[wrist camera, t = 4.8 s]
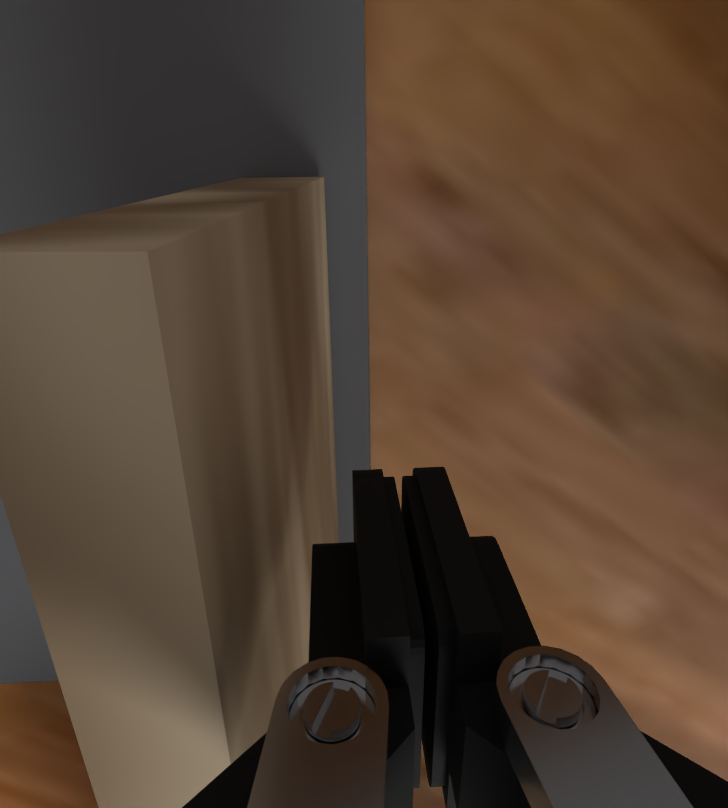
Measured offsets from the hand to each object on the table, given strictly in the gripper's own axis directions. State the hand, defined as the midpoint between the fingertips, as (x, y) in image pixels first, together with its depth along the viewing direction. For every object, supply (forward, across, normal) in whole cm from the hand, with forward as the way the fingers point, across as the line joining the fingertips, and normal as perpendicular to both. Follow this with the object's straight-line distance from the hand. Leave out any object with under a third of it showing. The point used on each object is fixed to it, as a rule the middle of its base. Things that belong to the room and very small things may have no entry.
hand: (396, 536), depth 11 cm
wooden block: (+6, +2, 0) cm, 7 cm away
